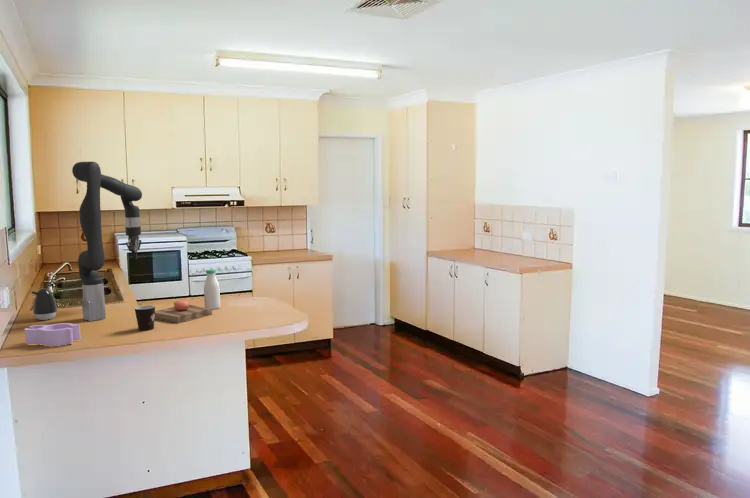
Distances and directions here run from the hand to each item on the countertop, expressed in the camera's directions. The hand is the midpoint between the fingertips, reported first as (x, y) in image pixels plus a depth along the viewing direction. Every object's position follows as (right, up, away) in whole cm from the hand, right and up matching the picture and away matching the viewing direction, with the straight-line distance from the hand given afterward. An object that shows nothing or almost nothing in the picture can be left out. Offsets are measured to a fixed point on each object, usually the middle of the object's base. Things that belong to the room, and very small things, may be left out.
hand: (134, 258), depth 320 cm
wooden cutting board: (+32, -28, -22) cm, 48 cm away
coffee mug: (+24, -31, -45) cm, 59 cm away
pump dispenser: (-34, -29, -23) cm, 50 cm away
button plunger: (+32, -24, -23) cm, 46 cm away
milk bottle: (+42, -26, -5) cm, 50 cm away
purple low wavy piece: (-8, -34, -66) cm, 75 cm away
